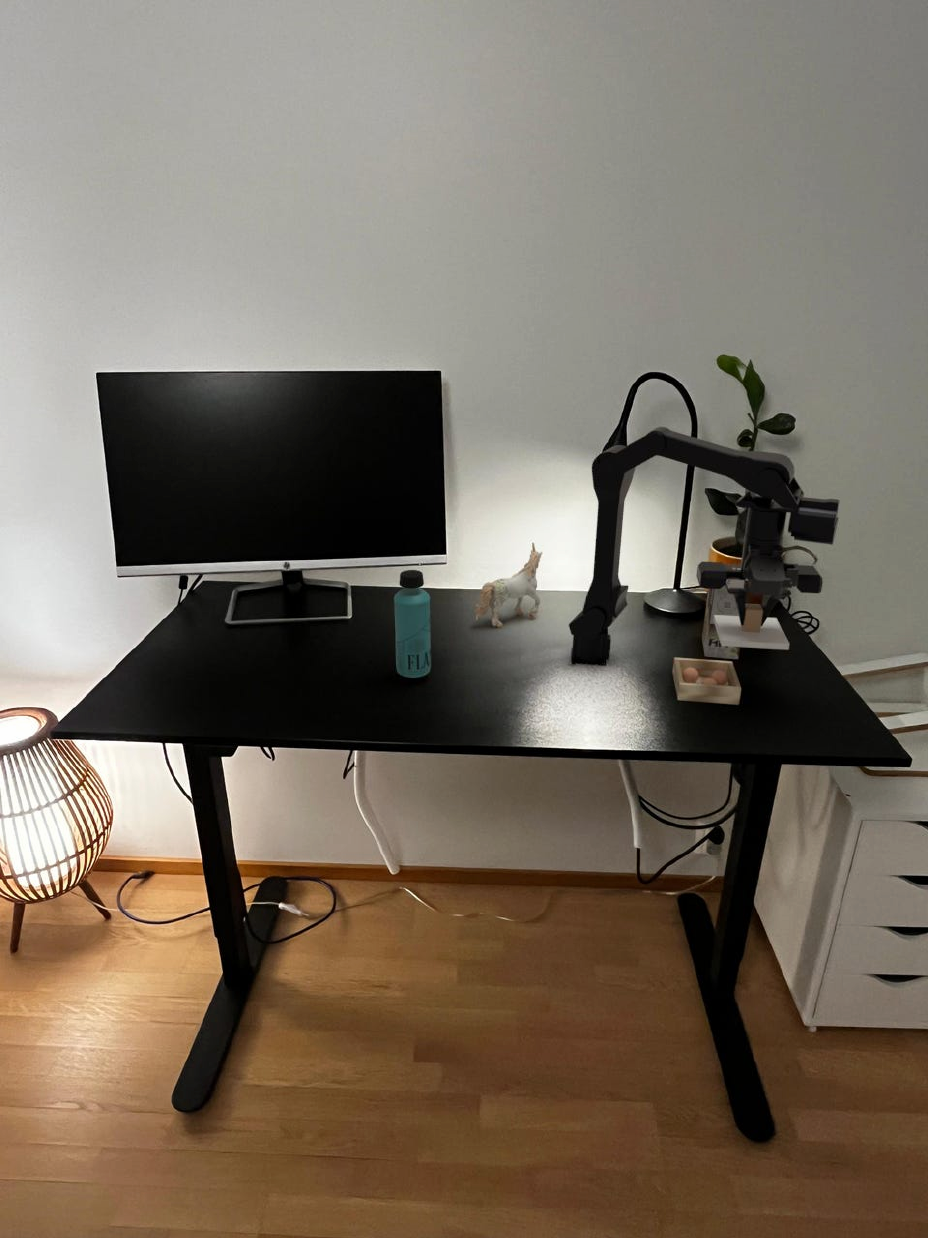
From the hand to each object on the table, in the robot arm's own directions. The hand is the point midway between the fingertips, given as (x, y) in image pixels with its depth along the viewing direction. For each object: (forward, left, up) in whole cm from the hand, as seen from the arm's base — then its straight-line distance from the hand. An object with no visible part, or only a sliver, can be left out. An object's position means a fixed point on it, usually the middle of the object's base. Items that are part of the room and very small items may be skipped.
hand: (751, 624), depth 135 cm
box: (-6, 0, -13) cm, 14 cm away
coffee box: (-1, +17, -13) cm, 22 cm away
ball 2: (-6, -2, -13) cm, 14 cm away
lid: (0, 0, -2) cm, 2 cm away
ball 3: (-3, +2, -13) cm, 13 cm away
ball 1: (-8, +2, -13) cm, 15 cm away
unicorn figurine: (-43, +27, -13) cm, 53 cm away
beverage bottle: (-57, -3, -13) cm, 59 cm away
